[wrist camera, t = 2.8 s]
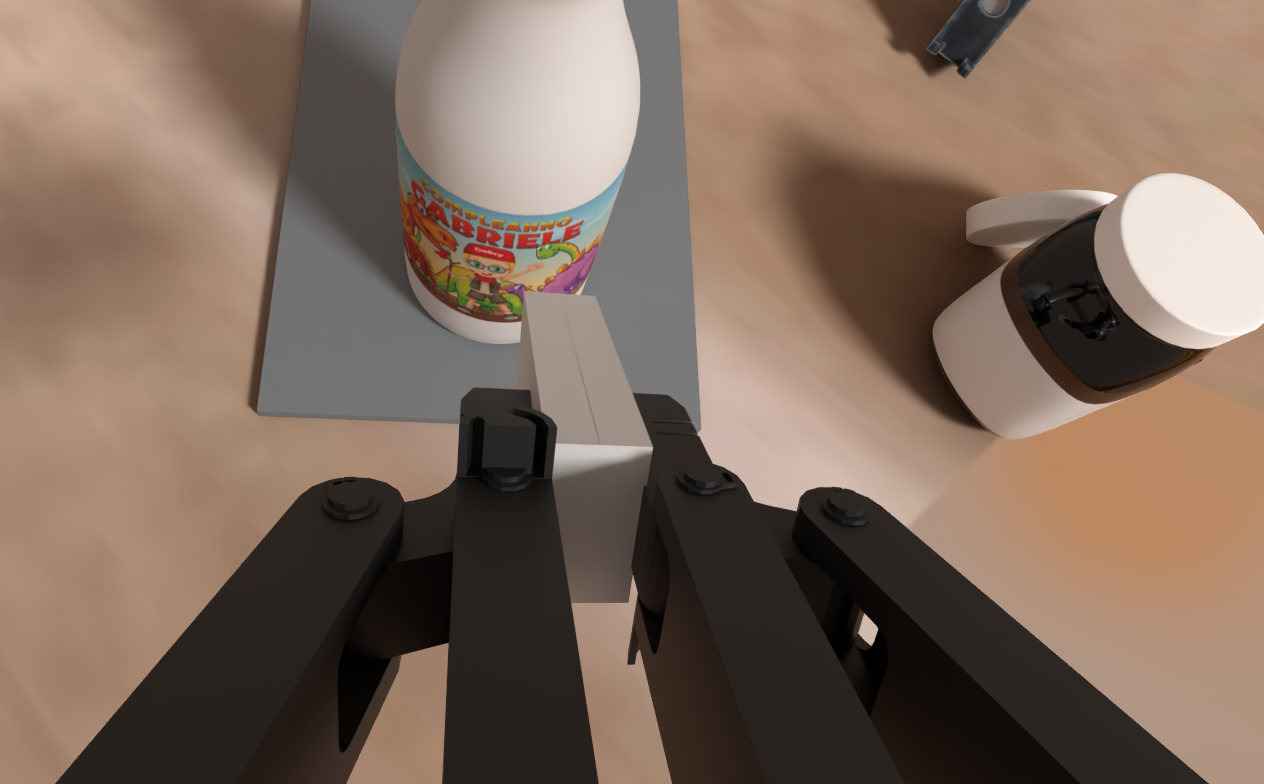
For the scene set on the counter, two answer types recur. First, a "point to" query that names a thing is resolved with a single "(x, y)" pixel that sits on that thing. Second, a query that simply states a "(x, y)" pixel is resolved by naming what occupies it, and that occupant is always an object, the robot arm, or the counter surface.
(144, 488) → the counter surface
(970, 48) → the gun
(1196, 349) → the spread jar
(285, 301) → the rubber mat
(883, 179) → the counter surface
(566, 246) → the milk bottle
